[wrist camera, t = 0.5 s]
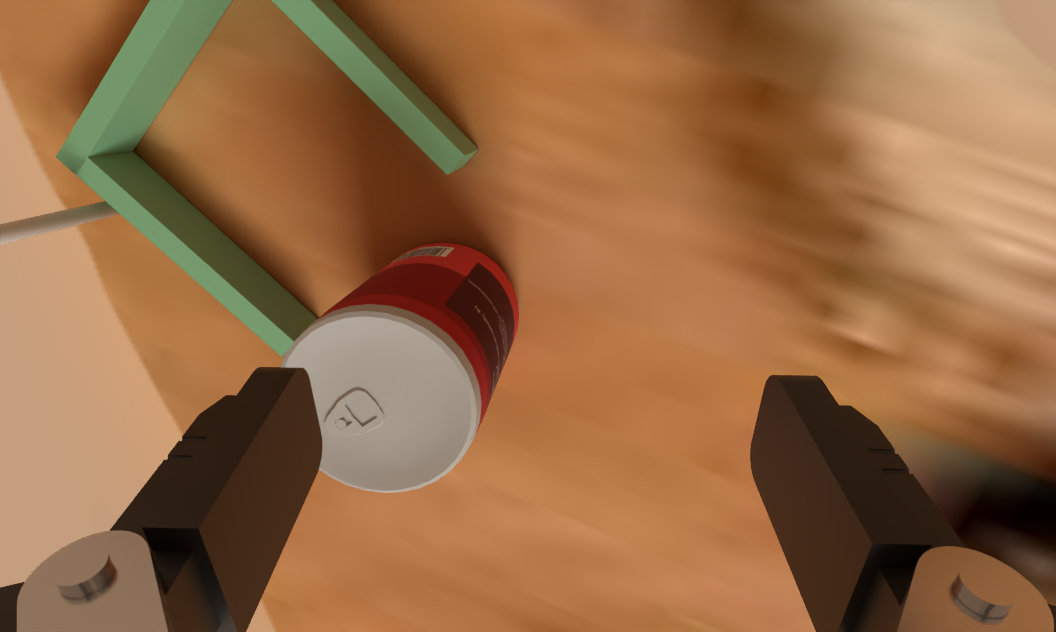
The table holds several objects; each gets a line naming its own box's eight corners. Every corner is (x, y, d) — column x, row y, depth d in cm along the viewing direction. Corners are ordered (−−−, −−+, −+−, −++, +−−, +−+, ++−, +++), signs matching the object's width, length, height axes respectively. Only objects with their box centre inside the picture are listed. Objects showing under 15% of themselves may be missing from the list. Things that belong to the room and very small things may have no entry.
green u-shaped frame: (251, -82, 28) (-309, -341, 11) (479, 149, 30) (302, 228, 13) (91, 171, 33) (-449, 258, 16) (293, 351, 35) (1, 590, 18)
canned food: (352, 315, 34) (238, 413, 24) (436, 205, 31) (347, 263, 21) (460, 400, 35) (395, 530, 25) (551, 302, 32) (520, 402, 22)
